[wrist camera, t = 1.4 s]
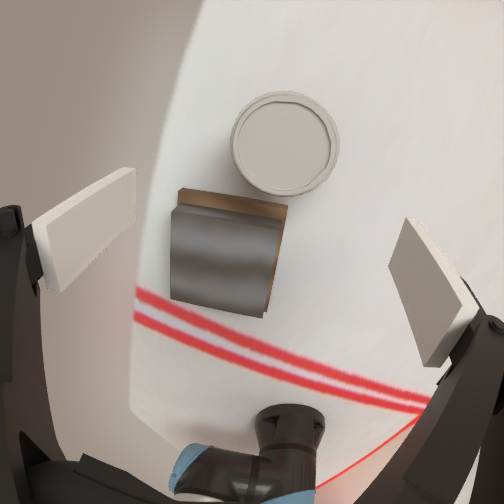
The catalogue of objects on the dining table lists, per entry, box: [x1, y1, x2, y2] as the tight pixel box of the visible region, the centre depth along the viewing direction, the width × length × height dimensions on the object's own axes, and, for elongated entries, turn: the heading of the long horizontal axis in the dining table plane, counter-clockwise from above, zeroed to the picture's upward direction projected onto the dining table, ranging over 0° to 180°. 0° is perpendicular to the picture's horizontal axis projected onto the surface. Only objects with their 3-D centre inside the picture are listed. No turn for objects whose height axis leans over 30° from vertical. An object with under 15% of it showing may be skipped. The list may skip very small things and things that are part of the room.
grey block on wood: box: [170, 188, 288, 318], centre depth 41 cm, size 16×14×5 cm
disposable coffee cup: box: [230, 91, 339, 197], centre depth 30 cm, size 10×10×12 cm
